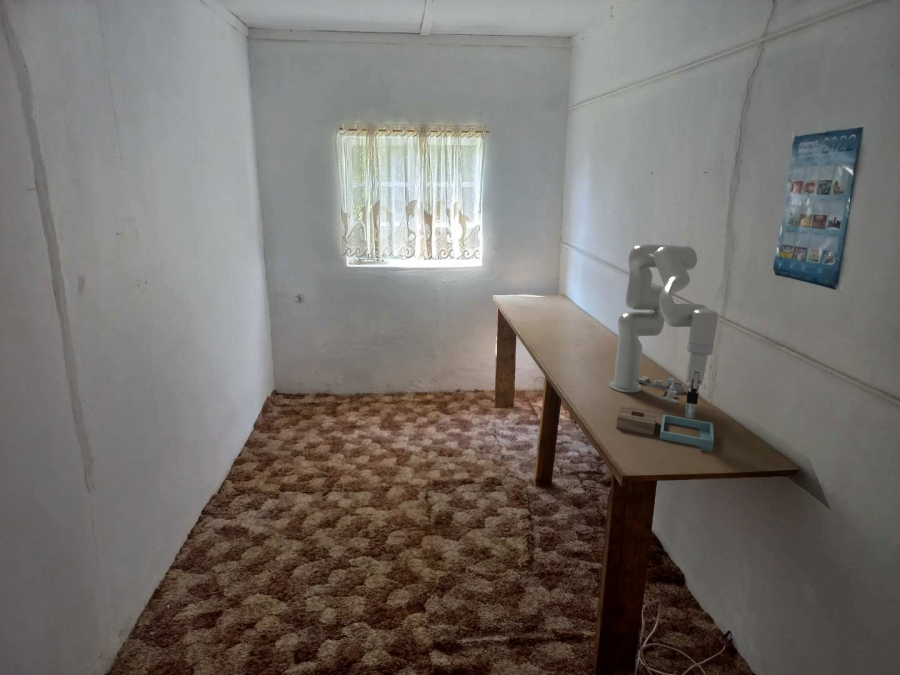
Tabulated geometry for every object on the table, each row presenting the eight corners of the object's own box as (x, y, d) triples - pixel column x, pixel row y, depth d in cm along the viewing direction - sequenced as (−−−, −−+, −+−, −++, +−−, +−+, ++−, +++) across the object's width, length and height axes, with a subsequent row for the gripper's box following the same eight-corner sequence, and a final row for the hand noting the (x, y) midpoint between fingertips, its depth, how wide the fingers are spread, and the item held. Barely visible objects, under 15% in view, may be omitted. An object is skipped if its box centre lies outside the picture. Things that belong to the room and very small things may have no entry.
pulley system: (666, 381, 251) (633, 380, 249) (668, 371, 250) (635, 369, 247) (700, 408, 225) (664, 406, 223) (703, 397, 224) (666, 395, 222)
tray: (661, 423, 204) (663, 414, 204) (711, 432, 199) (712, 422, 198) (659, 441, 190) (660, 431, 189) (712, 451, 184) (713, 441, 184)
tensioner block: (620, 418, 208) (621, 404, 206) (655, 424, 203) (657, 411, 202) (615, 430, 197) (617, 416, 196) (653, 437, 193) (655, 423, 191)
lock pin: (684, 413, 194) (689, 382, 191) (694, 415, 193) (699, 383, 190) (684, 416, 191) (688, 385, 188) (694, 418, 190) (699, 386, 187)
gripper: (687, 340, 195) (680, 392, 200) (687, 352, 180) (678, 408, 185) (712, 343, 192) (703, 395, 197) (713, 356, 177) (704, 412, 182)
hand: (691, 401), depth 191 cm, fingers closed on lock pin, 3 cm apart
